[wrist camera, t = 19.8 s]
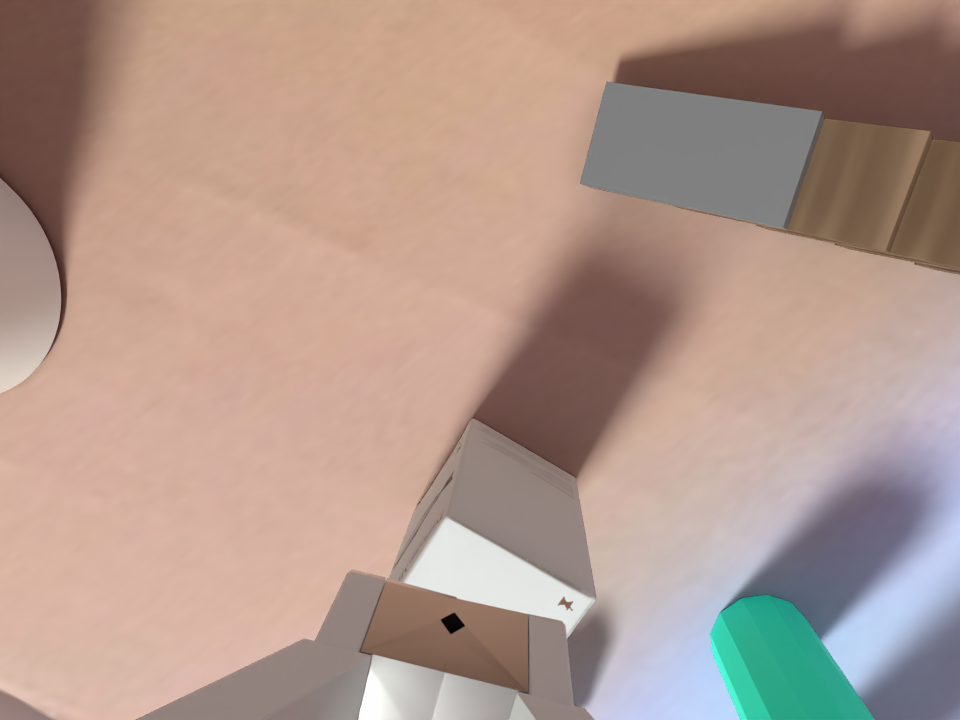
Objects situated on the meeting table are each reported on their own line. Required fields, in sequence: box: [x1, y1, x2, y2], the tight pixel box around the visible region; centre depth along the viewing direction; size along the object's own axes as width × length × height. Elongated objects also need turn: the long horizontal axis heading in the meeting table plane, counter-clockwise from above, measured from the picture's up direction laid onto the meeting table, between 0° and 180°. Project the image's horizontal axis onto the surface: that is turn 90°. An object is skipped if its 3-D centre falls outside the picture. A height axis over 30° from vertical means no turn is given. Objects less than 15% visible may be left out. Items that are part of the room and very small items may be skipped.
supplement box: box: [389, 419, 596, 638], centre depth 34 cm, size 7×7×13 cm
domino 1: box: [676, 118, 932, 253], centre depth 32 cm, size 2×5×10 cm
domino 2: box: [756, 139, 960, 269], centre depth 31 cm, size 2×5×10 cm
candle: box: [710, 595, 875, 720], centre depth 35 cm, size 6×6×12 cm
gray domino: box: [580, 82, 825, 230], centre depth 32 cm, size 2×5×10 cm
